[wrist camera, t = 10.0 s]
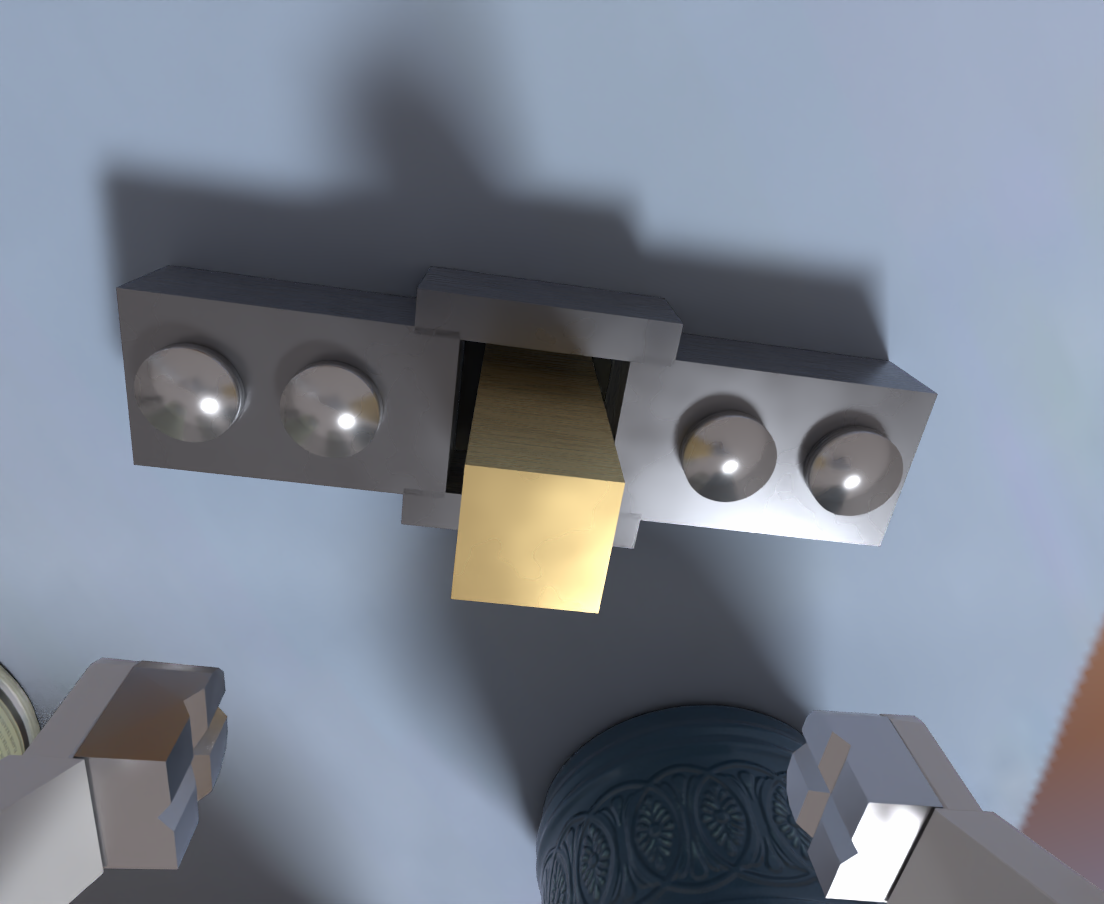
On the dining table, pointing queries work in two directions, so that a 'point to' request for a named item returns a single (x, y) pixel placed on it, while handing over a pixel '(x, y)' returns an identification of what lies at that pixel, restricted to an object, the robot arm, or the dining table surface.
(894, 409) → the silver studded bar
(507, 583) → the gold rectangular block
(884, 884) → the robot arm
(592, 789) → the canister
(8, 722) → the coffee can
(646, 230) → the dining table surface
